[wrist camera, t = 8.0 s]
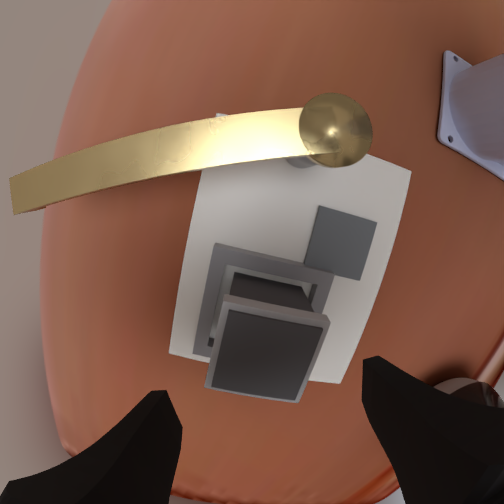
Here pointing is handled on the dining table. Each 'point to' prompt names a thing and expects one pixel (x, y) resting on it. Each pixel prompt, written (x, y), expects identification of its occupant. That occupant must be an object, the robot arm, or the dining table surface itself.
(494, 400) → the black rounded cone
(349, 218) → the pad
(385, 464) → the dining table surface
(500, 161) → the robot arm
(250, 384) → the plug
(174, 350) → the lever mounting base
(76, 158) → the lever handle
